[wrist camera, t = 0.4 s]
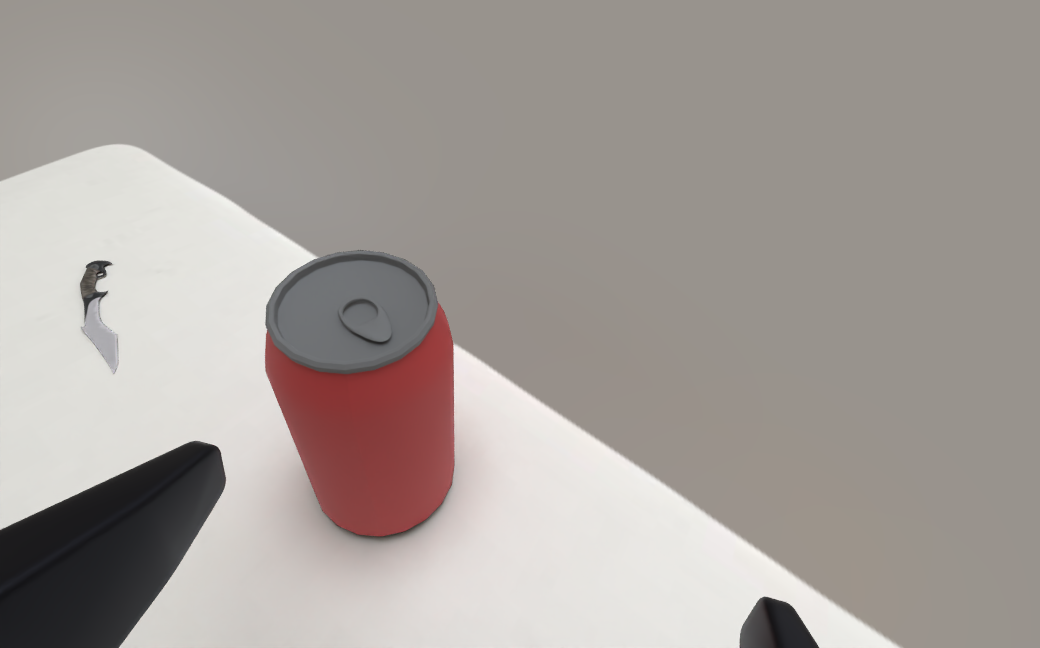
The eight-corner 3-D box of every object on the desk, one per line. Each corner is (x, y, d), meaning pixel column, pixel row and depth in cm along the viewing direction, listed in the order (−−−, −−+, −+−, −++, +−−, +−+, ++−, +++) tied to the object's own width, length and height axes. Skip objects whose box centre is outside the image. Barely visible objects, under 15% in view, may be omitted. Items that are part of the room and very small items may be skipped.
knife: (80, 265, 35) (78, 262, 35) (113, 259, 36) (111, 256, 36) (81, 383, 30) (79, 380, 29) (120, 374, 30) (118, 371, 30)
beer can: (363, 573, 24) (310, 420, 16) (290, 466, 27) (212, 288, 19) (481, 483, 28) (492, 315, 19) (405, 397, 31) (384, 218, 22)
